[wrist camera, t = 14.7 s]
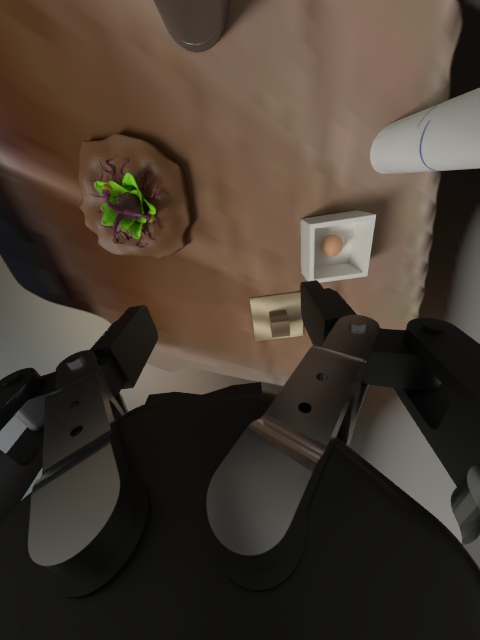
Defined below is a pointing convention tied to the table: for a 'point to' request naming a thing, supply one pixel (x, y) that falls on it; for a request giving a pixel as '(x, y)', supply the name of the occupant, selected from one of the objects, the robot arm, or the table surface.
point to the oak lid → (277, 316)
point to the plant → (133, 197)
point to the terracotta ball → (331, 245)
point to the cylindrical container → (432, 139)
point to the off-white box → (354, 253)
